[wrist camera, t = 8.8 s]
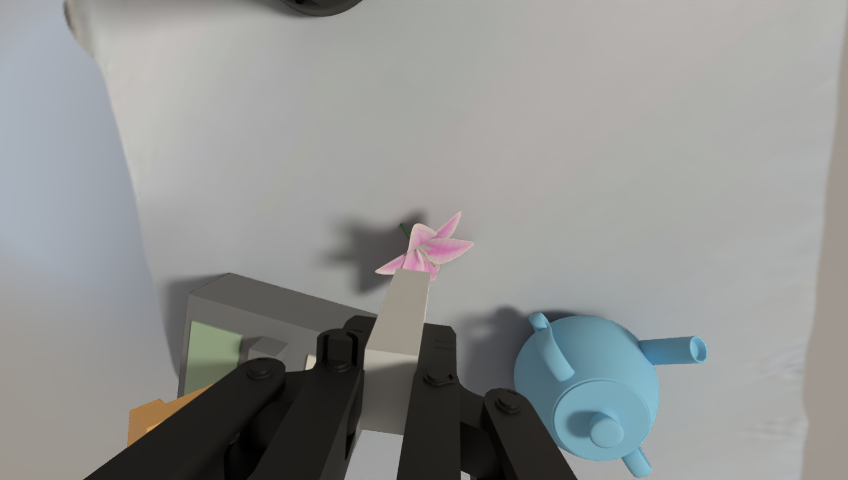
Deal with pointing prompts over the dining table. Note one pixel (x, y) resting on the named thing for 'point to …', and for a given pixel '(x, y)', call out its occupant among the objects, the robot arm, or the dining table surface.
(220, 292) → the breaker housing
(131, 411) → the breaker lever
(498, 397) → the robot arm
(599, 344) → the teapot
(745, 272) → the dining table surface
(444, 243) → the lily
